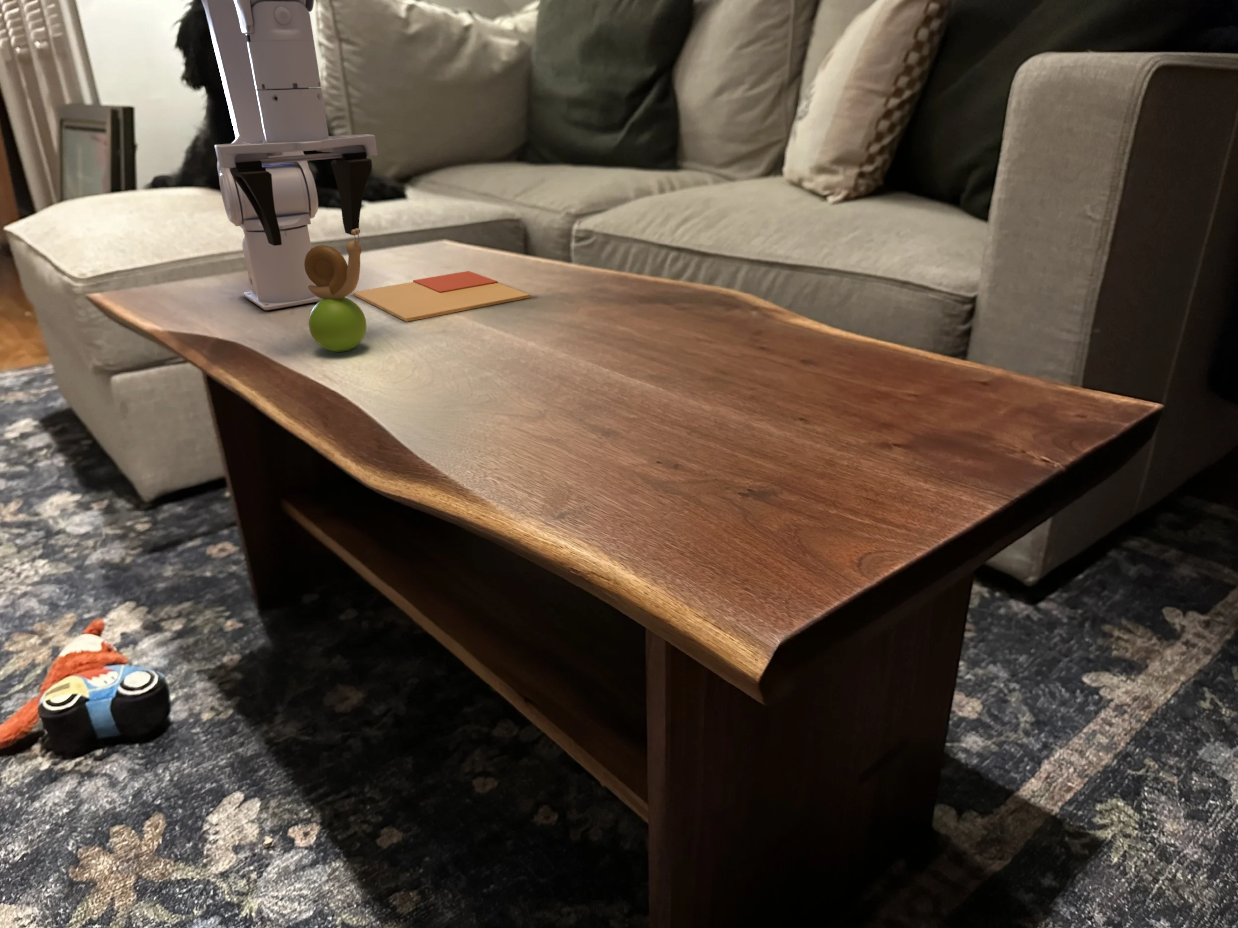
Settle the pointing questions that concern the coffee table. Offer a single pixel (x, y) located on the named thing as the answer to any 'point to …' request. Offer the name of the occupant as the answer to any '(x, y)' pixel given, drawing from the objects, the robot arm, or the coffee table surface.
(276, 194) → the robot arm
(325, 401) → the coffee table surface
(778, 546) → the coffee table surface
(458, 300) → the corner mat
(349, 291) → the snail figurine
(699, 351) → the coffee table surface
